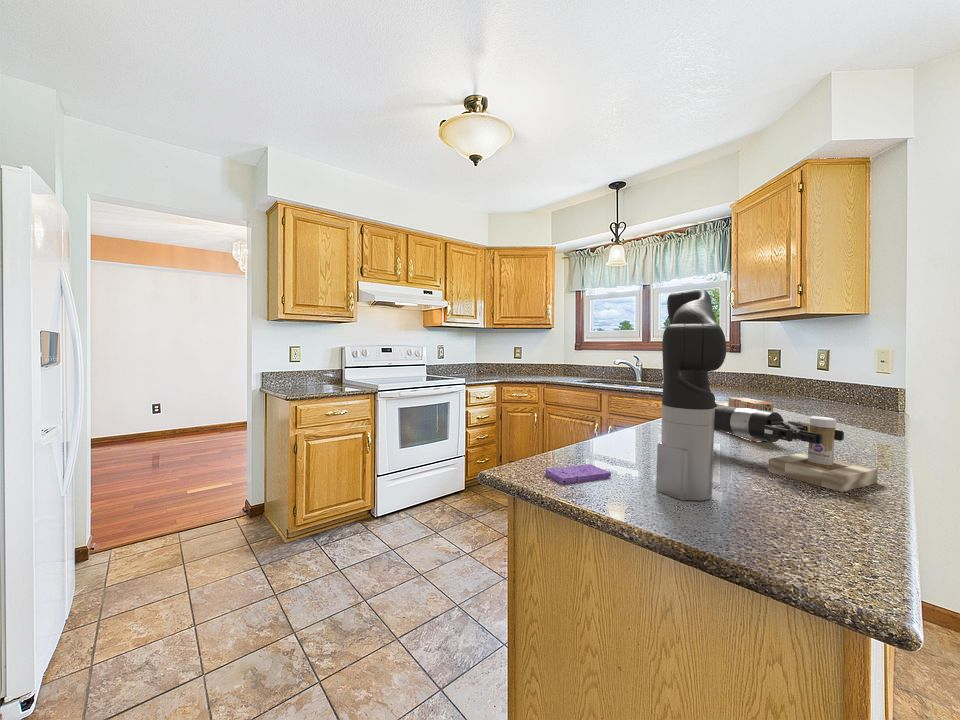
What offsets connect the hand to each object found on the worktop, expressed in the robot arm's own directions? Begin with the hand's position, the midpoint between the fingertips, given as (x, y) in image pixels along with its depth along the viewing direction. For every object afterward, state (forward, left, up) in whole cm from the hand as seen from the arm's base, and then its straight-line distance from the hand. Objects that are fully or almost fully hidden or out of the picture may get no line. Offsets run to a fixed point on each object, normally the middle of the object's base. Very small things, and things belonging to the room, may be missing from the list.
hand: (832, 437), depth 88 cm
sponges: (-50, +23, -10) cm, 56 cm away
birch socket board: (0, +2, -9) cm, 9 cm away
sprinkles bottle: (0, +2, -10) cm, 10 cm away
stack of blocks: (+27, +38, -10) cm, 47 cm away
